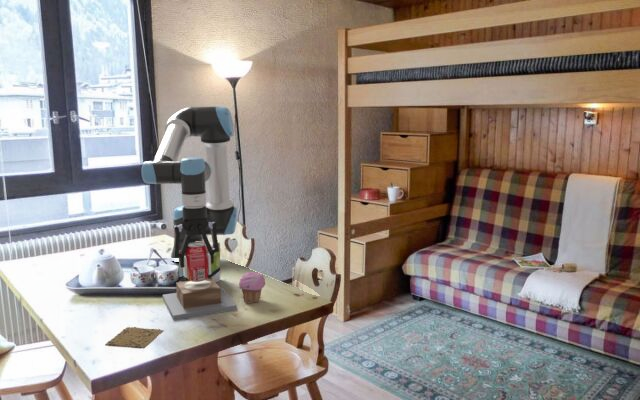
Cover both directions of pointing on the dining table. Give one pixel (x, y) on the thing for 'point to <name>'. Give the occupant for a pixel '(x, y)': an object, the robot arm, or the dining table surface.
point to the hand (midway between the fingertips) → (197, 274)
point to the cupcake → (251, 286)
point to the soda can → (197, 261)
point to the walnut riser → (198, 293)
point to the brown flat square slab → (134, 337)
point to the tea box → (214, 267)
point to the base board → (180, 313)
